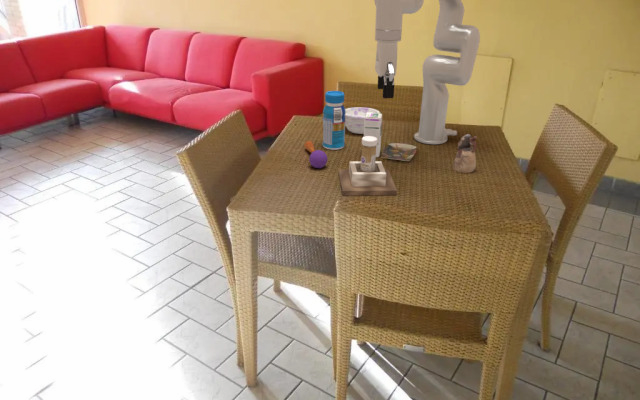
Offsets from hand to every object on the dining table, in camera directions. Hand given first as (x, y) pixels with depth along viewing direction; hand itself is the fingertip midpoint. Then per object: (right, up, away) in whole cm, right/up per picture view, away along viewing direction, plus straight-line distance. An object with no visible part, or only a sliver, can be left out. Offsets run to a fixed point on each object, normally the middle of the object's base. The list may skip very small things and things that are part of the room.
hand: (385, 93), depth 148 cm
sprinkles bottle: (-5, -26, +2) cm, 27 cm away
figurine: (+28, -22, +14) cm, 38 cm away
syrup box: (-2, -16, +25) cm, 30 cm away
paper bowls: (-4, -5, +48) cm, 48 cm away
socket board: (-6, -28, +2) cm, 28 cm away
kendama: (-22, -19, +20) cm, 35 cm away
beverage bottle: (-15, -13, +31) cm, 37 cm away
